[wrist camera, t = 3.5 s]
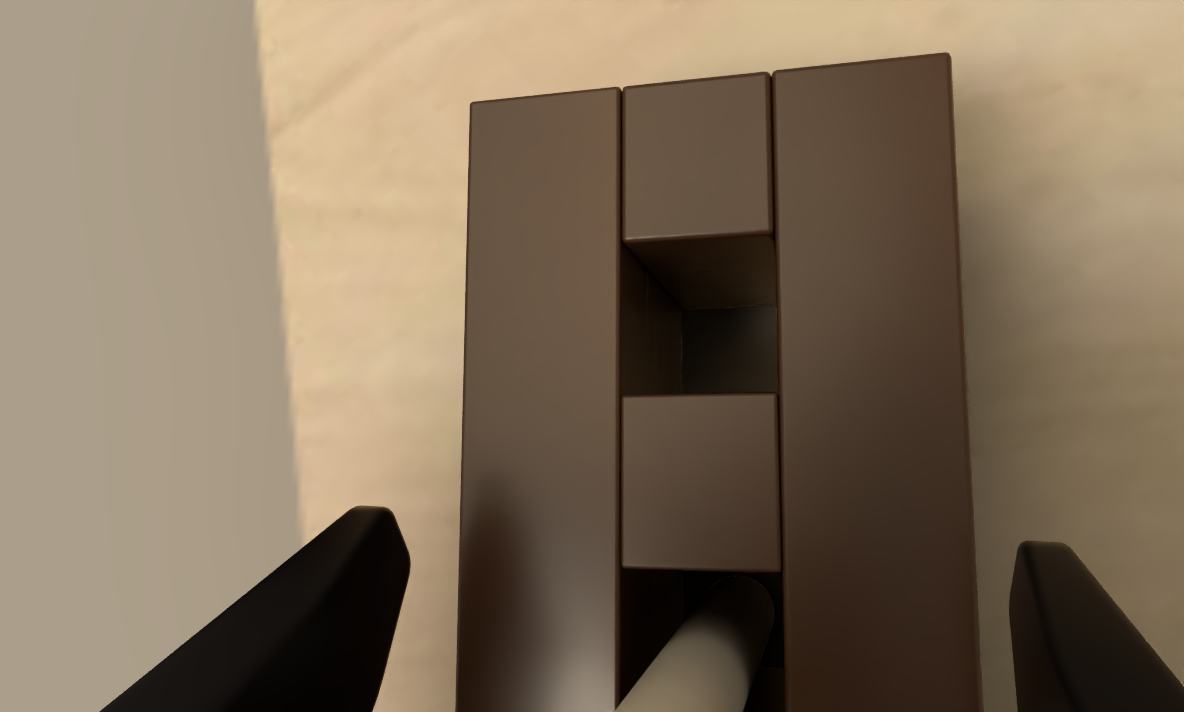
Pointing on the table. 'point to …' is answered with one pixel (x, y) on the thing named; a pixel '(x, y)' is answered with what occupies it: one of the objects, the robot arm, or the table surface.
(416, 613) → the table surface
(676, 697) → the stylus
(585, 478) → the dock
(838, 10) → the table surface
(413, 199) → the table surface
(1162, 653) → the table surface
